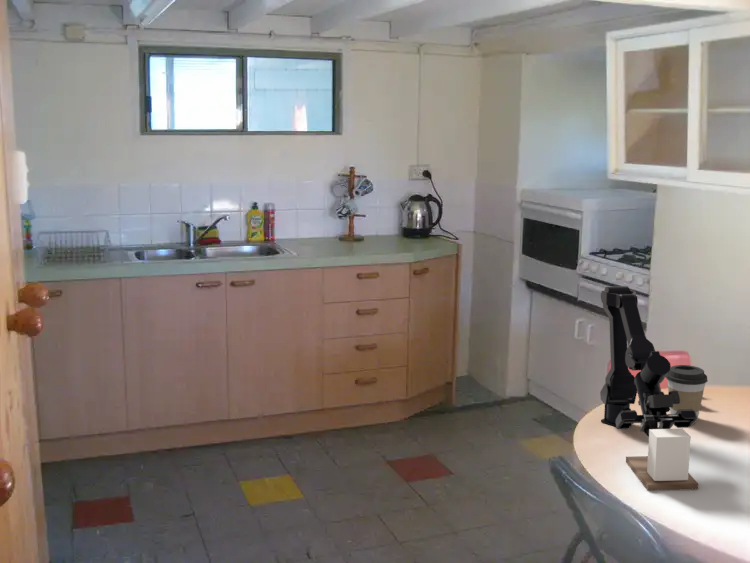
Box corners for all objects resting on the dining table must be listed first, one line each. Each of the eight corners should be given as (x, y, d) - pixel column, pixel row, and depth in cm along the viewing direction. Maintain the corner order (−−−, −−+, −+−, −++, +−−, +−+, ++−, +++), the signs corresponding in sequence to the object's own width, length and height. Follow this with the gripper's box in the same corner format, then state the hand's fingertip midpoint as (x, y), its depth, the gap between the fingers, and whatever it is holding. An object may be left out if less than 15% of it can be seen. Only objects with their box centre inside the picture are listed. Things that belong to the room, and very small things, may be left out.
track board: (625, 462, 207) (626, 456, 207) (672, 460, 207) (672, 455, 207) (647, 490, 191) (647, 484, 191) (697, 489, 192) (698, 483, 191)
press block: (646, 470, 198) (648, 428, 195) (678, 470, 198) (681, 427, 196) (654, 481, 192) (656, 437, 190) (687, 480, 192) (690, 436, 190)
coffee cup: (701, 413, 239) (704, 364, 236) (708, 427, 228) (711, 376, 225) (660, 411, 242) (663, 362, 238) (665, 425, 231) (668, 375, 228)
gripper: (621, 379, 199) (633, 439, 190) (696, 378, 199) (712, 437, 190) (610, 399, 208) (621, 457, 200) (682, 397, 208) (697, 455, 200)
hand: (663, 451), depth 197 cm, fingers closed
